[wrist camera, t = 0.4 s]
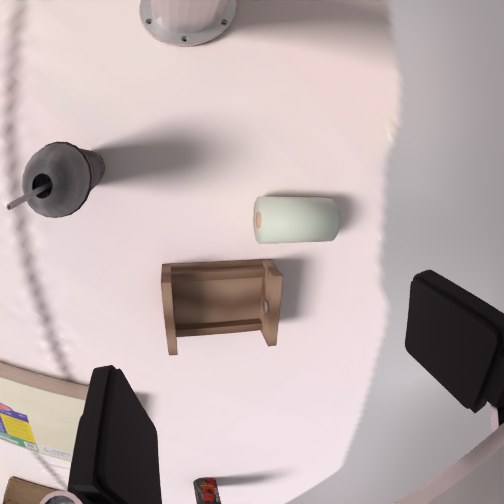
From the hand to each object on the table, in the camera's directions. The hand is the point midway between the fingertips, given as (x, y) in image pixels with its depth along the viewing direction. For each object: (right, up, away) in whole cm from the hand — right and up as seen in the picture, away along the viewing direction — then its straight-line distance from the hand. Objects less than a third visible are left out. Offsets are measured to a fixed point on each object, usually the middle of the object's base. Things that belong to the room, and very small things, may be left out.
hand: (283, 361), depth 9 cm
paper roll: (+5, +7, +32) cm, 34 cm away
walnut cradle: (-6, -3, +37) cm, 37 cm away
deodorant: (-13, -56, +55) cm, 79 cm away
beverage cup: (-22, +14, +26) cm, 37 cm away
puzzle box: (-42, -29, +38) cm, 64 cm away
